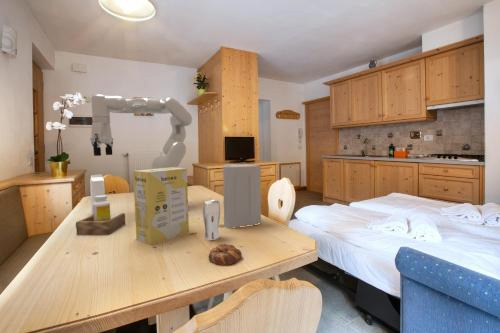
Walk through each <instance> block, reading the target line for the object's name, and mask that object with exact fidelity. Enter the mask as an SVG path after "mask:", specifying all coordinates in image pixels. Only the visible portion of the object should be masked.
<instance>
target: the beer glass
mask: <svg viewBox="0 0 500 333" xmlns="http://www.w3.org/2000/svg"><path fill="white" fill-rule="evenodd" d="M202 218H203V223H204V240H205V241H211V240H213V241H217V240H219V239H220V233H219V225H220V219H221V206H220V201H219V200H216V199H209V200H205V201H204V200H203V202H202Z"/></svg>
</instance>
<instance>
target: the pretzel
mask: <svg viewBox="0 0 500 333" xmlns="http://www.w3.org/2000/svg"><path fill="white" fill-rule="evenodd" d="M242 256H243V253H242V251H241V250H240V249H238V248H237V247H235V245H233V244H227V243H220V244H218V245H216V246H215V247H213V248H211V250H210V251H209V254H208V260H209V261H210V263H213V264H216V265H220V266H221V265H222V266H225V265H226V266H227V265H232V264H236V263H237V262H238V261H239V260H240V259H241V258H242ZM238 259H239V260H238Z"/></svg>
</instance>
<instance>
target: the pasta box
mask: <svg viewBox="0 0 500 333" xmlns="http://www.w3.org/2000/svg"><path fill="white" fill-rule="evenodd" d="M132 175H133V176H132V178H133V193H134V194H133V196H134V199H133V200H134V216H135V220H134V221H135V231H136V232H135V235H136V240H137V241H139V242H142V243H145V244H147V245H150V246H153V245H156V244H159V243H162V242H165V241H167V240H170V239H173V238H175V237H179V236H181V235H184V234H187V233H189V232H190V226H189V224H190V223H189V197H188V196H189V193H188V191H189V190H188V168H186V167H185V168H184V167H178V168H175V167H170V168H159V169H152V168H151V169H141V170H140V169H139V170H138V169H137V170H132Z"/></svg>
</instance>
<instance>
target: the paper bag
mask: <svg viewBox="0 0 500 333" xmlns="http://www.w3.org/2000/svg"><path fill="white" fill-rule="evenodd" d="M261 168H262V167H261V165H255V164H238V163H237V164H236V163H235V164H234V163H229V164H228V163H227V164H223V166H222V183H223V184H222V185H223V186H222V187H223V188H222V189H223V228H224V227H226V228H225V229H227V228H232V229H234V228H233V227H240V226H247V225H255V224H258V223H260V222H261V223H262V202H261V201H262V199H261V198H262V194H261V193H262V191H261V190H262V188H261V186H262V185H261V180H262V179H261V176H262V175H261V172H262V170H261Z"/></svg>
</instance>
